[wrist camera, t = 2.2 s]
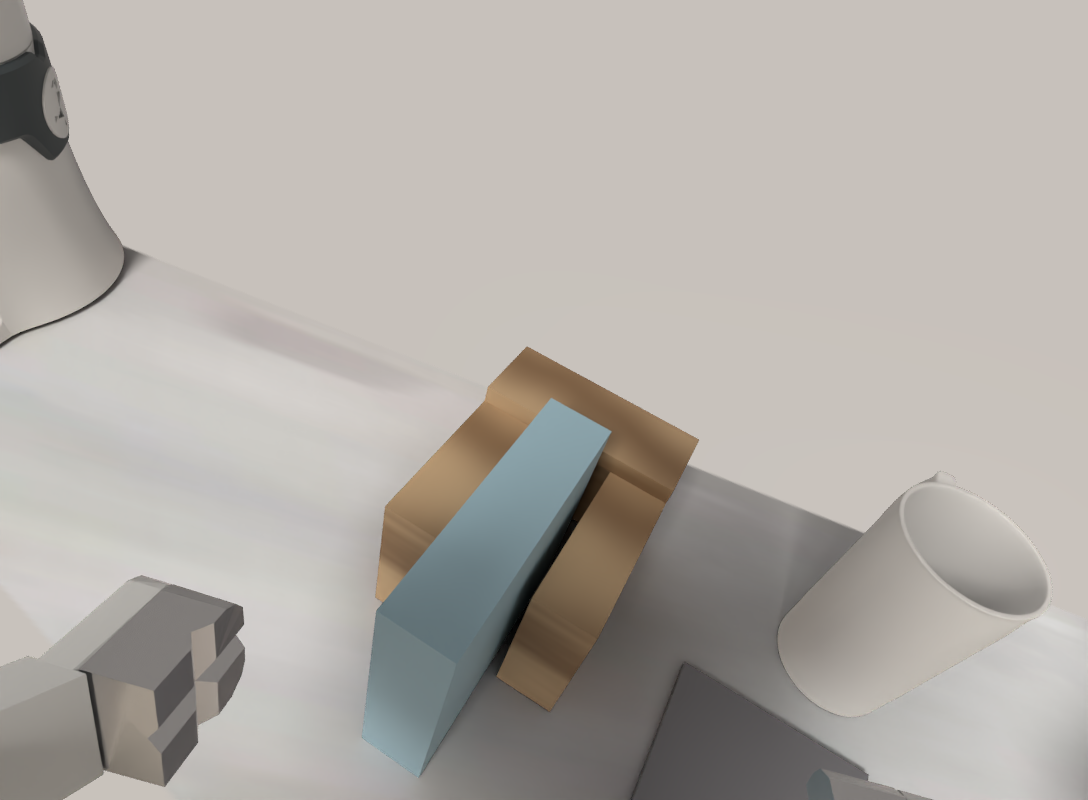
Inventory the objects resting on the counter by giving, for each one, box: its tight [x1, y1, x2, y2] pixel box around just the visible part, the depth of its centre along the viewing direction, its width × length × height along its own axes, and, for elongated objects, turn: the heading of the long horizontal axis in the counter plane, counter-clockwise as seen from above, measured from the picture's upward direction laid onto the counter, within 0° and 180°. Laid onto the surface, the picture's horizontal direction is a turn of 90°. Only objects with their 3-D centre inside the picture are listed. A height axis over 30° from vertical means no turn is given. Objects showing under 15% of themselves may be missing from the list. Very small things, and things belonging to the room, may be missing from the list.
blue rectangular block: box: [362, 398, 612, 778], centre depth 29 cm, size 12×3×12 cm, turn 152°
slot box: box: [375, 347, 699, 712], centre depth 33 cm, size 12×10×9 cm
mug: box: [777, 471, 1053, 717], centre depth 34 cm, size 10×7×12 cm, turn 158°
